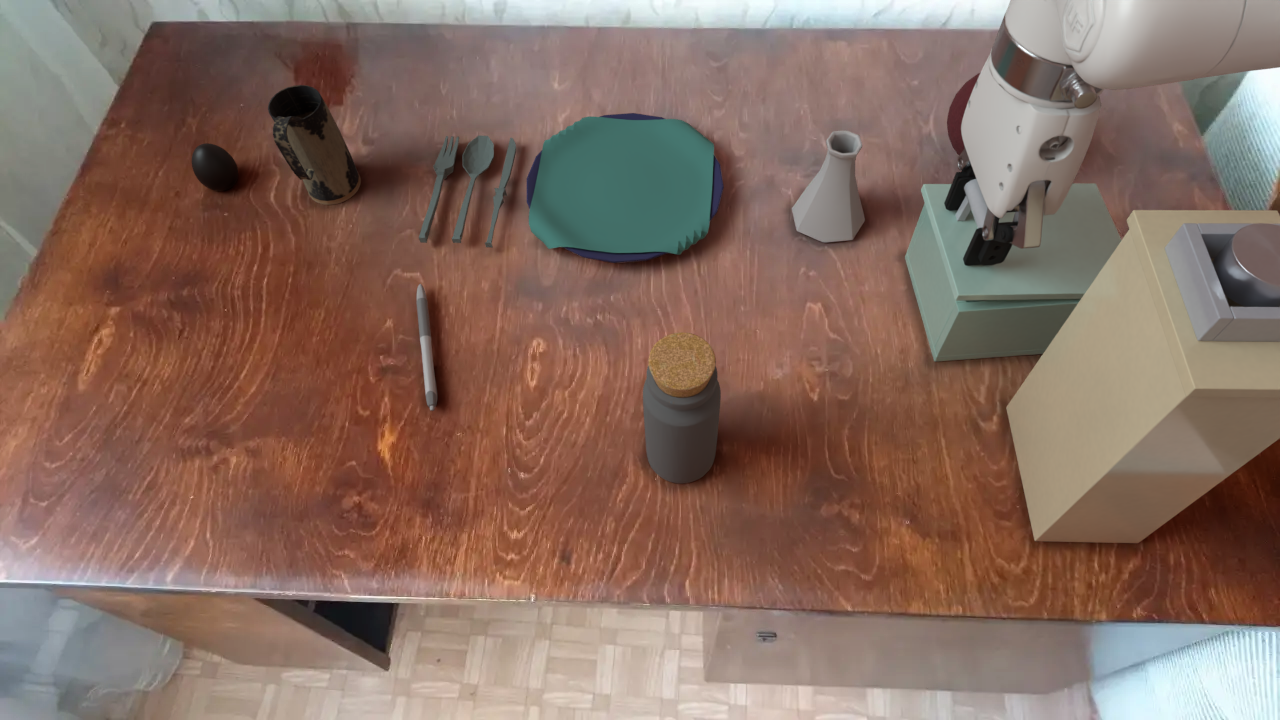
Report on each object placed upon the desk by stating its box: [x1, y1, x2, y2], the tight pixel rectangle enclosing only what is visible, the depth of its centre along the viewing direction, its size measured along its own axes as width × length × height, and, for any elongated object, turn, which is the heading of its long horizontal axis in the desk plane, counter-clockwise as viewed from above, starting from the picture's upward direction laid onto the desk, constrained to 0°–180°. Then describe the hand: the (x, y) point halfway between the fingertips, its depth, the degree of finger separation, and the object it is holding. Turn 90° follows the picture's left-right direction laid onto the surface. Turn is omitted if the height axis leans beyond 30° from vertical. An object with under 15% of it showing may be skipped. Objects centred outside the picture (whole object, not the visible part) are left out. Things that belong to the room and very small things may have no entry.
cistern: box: [1005, 209, 1280, 544], centre depth 59 cm, size 9×13×27 cm
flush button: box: [1212, 223, 1280, 307], centre depth 47 cm, size 4×4×2 cm
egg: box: [191, 142, 239, 192], centre depth 89 cm, size 4×4×5 cm
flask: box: [791, 129, 866, 243], centre depth 82 cm, size 7×7×10 cm
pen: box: [416, 283, 438, 412], centre depth 79 cm, size 1×14×1 cm, turn 12°
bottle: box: [642, 332, 722, 484], centre depth 67 cm, size 6×6×15 cm
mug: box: [267, 84, 362, 206], centre depth 85 cm, size 8×6×12 cm
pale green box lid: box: [920, 179, 1122, 301], centre depth 70 cm, size 16×12×5 cm
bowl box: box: [904, 202, 1081, 363], centre depth 76 cm, size 15×12×8 cm
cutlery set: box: [418, 112, 725, 264], centre depth 87 cm, size 20×30×2 cm, turn 85°
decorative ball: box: [946, 71, 981, 156], centre depth 85 cm, size 10×10×10 cm
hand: (973, 232), depth 71 cm, fingers closed on pale green box lid, 5 cm apart
